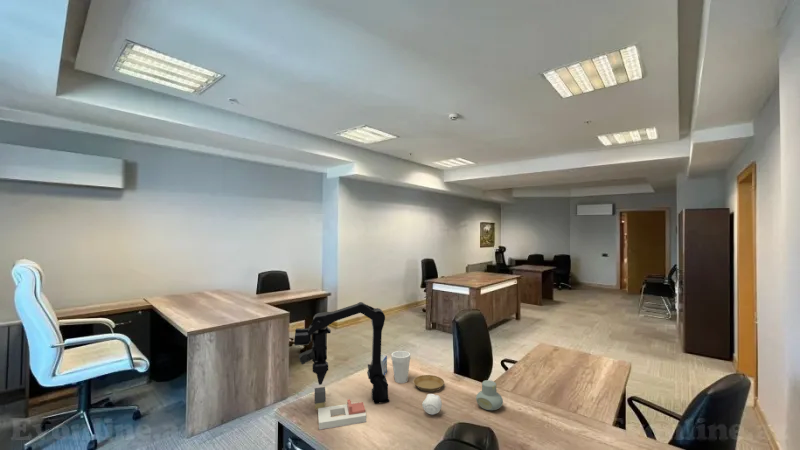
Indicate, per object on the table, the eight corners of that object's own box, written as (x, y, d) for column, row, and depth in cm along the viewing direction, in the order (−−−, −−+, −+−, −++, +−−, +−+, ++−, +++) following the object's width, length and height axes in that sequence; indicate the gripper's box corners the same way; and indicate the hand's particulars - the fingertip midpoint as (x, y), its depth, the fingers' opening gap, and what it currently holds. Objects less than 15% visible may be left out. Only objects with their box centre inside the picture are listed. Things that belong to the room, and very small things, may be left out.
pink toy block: (362, 403, 140) (362, 397, 140) (365, 411, 133) (365, 404, 133) (347, 406, 138) (347, 399, 138) (349, 414, 132) (349, 407, 132)
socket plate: (361, 407, 142) (361, 401, 142) (366, 421, 131) (366, 415, 131) (318, 414, 137) (318, 408, 137) (318, 429, 126) (318, 422, 126)
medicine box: (383, 377, 171) (383, 360, 171) (375, 377, 172) (374, 360, 172) (387, 371, 178) (387, 355, 179) (379, 371, 179) (379, 354, 180)
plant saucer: (423, 377, 171) (423, 372, 171) (449, 384, 163) (449, 379, 163) (407, 388, 159) (407, 383, 159) (434, 397, 151) (434, 391, 151)
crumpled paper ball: (431, 406, 142) (431, 387, 142) (445, 413, 137) (445, 393, 137) (418, 413, 137) (418, 394, 137) (433, 420, 131) (432, 401, 131)
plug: (325, 403, 146) (324, 386, 146) (325, 408, 142) (325, 391, 142) (314, 404, 145) (314, 388, 145) (314, 409, 141) (314, 392, 141)
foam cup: (396, 386, 161) (396, 359, 162) (388, 378, 169) (388, 353, 170) (414, 381, 166) (413, 355, 166) (405, 374, 174) (404, 349, 174)
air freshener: (506, 407, 141) (505, 383, 141) (496, 415, 135) (496, 390, 135) (482, 399, 148) (482, 376, 148) (473, 406, 142) (472, 382, 142)
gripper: (300, 338, 151) (300, 373, 151) (299, 353, 133) (299, 392, 133) (325, 336, 154) (326, 370, 153) (328, 350, 136) (328, 389, 136)
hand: (319, 380), depth 144 cm, fingers open, 8 cm apart
